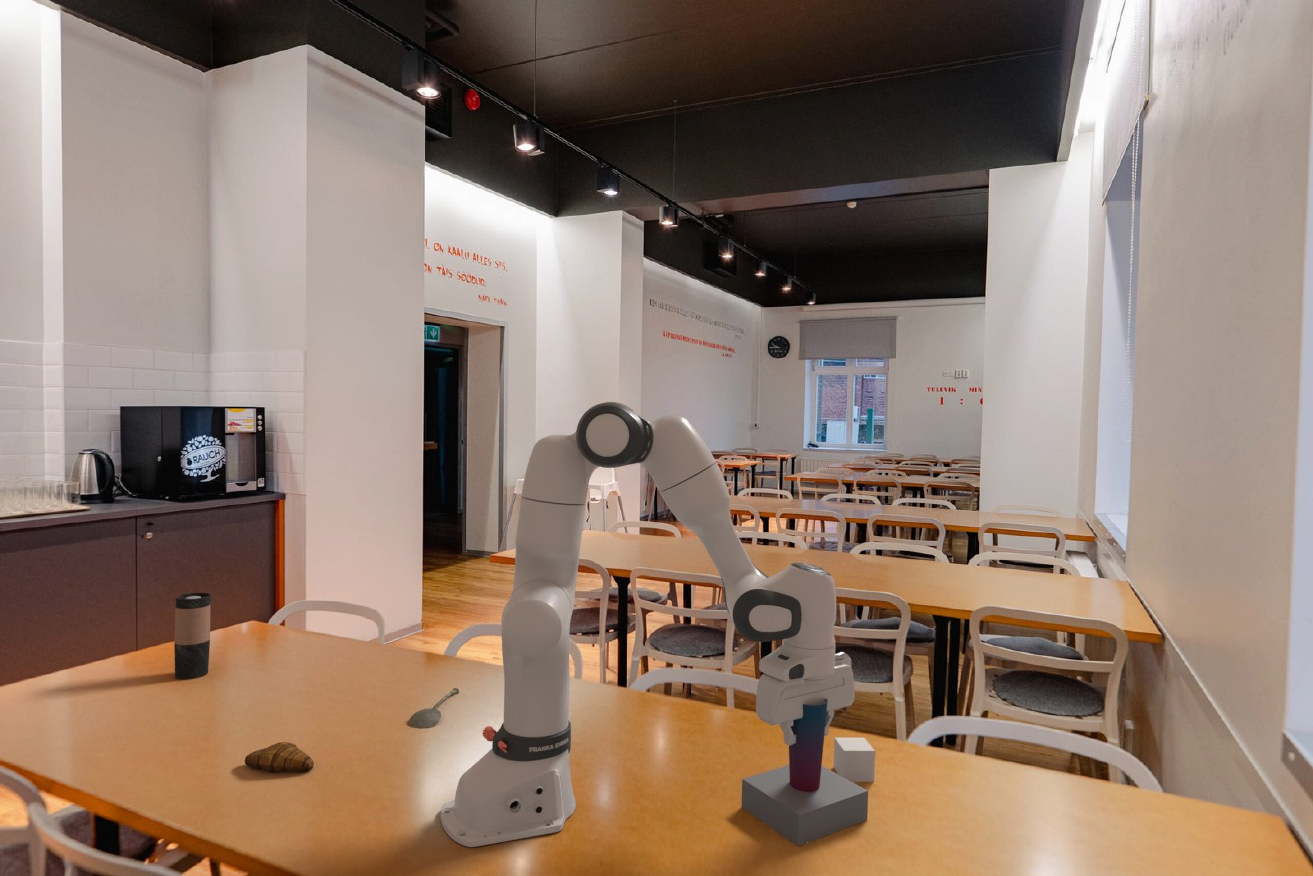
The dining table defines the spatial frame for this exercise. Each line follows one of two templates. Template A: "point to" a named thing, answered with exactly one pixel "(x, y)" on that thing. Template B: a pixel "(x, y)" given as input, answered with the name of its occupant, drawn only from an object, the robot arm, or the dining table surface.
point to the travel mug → (192, 635)
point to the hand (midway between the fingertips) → (806, 739)
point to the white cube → (854, 759)
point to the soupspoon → (429, 715)
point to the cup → (808, 748)
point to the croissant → (280, 759)
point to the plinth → (804, 804)
